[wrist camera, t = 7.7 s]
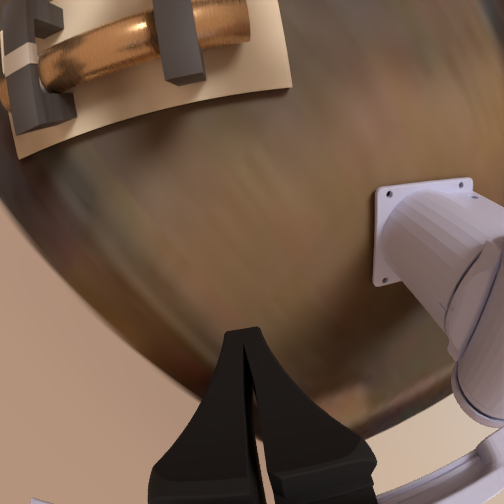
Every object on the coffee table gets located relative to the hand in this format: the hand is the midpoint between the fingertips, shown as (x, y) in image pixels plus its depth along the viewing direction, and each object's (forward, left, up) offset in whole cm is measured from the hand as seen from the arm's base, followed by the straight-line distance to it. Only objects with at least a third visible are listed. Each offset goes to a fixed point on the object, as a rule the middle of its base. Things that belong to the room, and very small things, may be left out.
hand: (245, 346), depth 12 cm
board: (+4, -14, -10) cm, 18 cm away
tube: (+4, -14, -9) cm, 17 cm away
